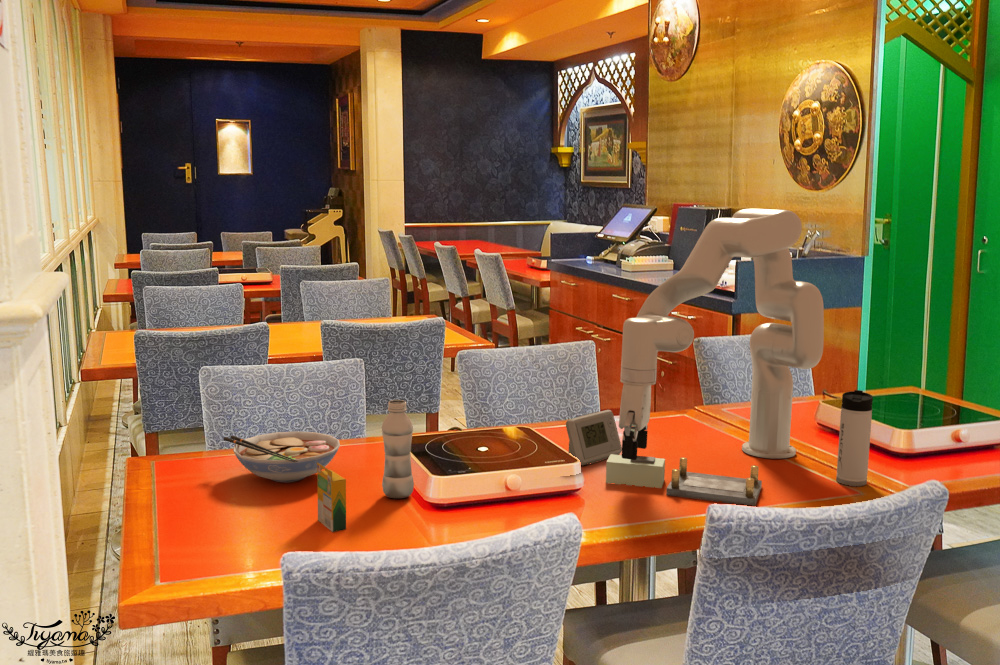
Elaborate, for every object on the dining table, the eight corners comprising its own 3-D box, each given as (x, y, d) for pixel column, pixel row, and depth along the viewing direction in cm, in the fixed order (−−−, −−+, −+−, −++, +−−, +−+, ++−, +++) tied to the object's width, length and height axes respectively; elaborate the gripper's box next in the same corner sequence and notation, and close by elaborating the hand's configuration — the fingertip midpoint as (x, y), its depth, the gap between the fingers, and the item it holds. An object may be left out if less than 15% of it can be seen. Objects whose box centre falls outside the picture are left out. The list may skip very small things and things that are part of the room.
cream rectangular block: (609, 475, 204) (610, 451, 203) (664, 480, 200) (665, 456, 200) (605, 484, 198) (606, 459, 197) (661, 489, 195) (662, 463, 194)
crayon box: (347, 529, 169) (346, 469, 168) (332, 532, 168) (331, 472, 166) (332, 517, 175) (330, 459, 174) (317, 520, 174) (316, 461, 172)
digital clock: (577, 468, 208) (578, 423, 206) (553, 459, 215) (554, 415, 214) (631, 458, 217) (632, 414, 215) (607, 449, 224) (608, 406, 222)
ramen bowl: (365, 478, 199) (364, 442, 198) (275, 503, 183) (274, 464, 181) (298, 455, 216) (297, 421, 215) (210, 476, 200) (209, 440, 198)
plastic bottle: (389, 504, 183) (388, 407, 180) (377, 494, 189) (376, 400, 186) (418, 499, 186) (418, 403, 183) (406, 489, 192) (406, 396, 189)
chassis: (677, 477, 202) (678, 455, 201) (761, 487, 196) (762, 464, 195) (666, 495, 190) (667, 471, 189) (755, 506, 184) (756, 482, 183)
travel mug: (867, 479, 202) (874, 391, 199) (865, 488, 196) (872, 397, 193) (837, 475, 204) (843, 388, 201) (834, 484, 198) (841, 394, 195)
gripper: (630, 367, 205) (626, 441, 207) (611, 380, 189) (607, 461, 191) (663, 370, 202) (659, 445, 204) (647, 384, 186) (642, 465, 188)
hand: (634, 453), depth 198 cm, fingers open, 9 cm apart
